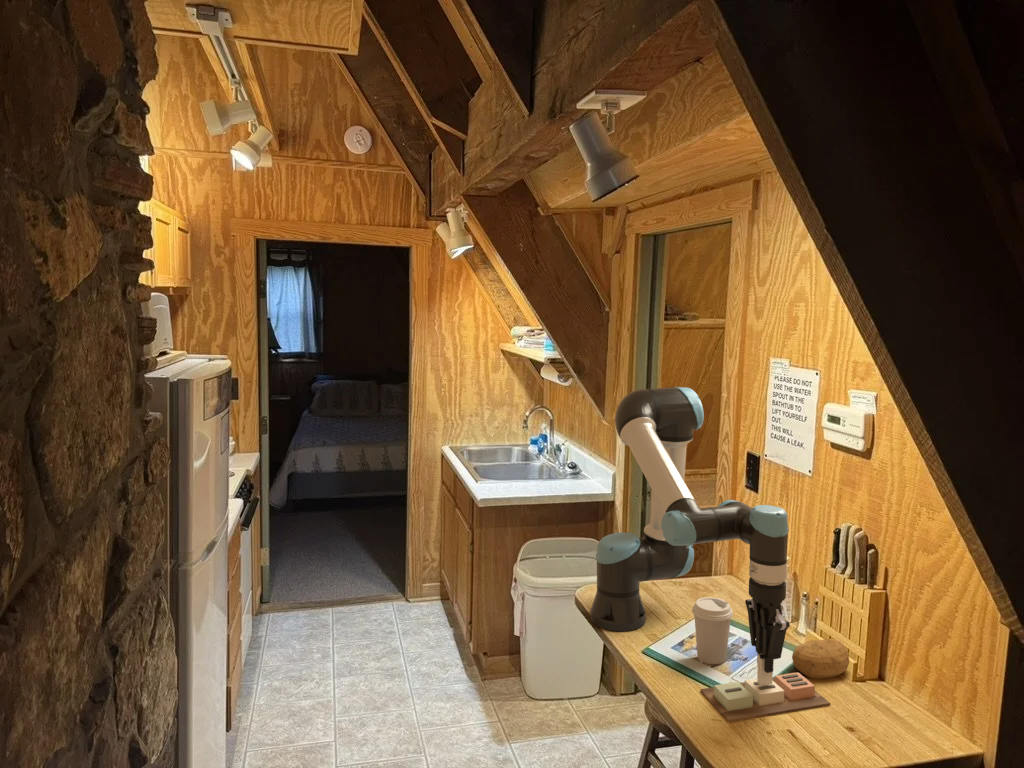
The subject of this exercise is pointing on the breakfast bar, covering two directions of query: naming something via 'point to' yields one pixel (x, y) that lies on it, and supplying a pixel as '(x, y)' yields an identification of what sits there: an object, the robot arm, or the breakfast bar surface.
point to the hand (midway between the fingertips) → (764, 683)
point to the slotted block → (733, 696)
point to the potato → (821, 658)
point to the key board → (765, 706)
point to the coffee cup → (712, 629)
